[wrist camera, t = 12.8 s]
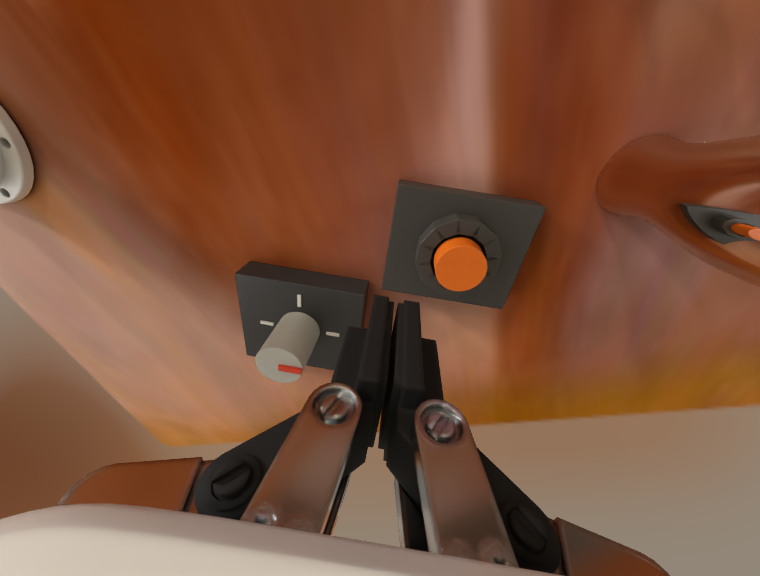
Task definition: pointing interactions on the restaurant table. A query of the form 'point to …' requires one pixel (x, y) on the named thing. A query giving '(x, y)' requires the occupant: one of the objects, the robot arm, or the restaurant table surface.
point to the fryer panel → (299, 306)
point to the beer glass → (692, 196)
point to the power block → (457, 219)
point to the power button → (459, 264)
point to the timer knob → (288, 348)
